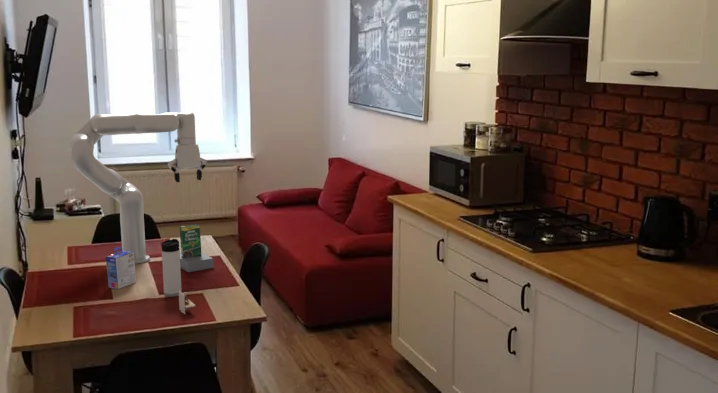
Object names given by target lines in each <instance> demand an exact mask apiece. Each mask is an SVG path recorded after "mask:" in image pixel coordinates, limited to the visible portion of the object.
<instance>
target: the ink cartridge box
mask: <svg viewBox="0 0 718 393" xmlns="http://www.w3.org/2000/svg"><path fill="white" fill-rule="evenodd" d="M112 251H113V252H114V253H112V254H113V255H111V254H110V255H107V256H105V262H106V270H107V272H106V273H107V283H108V288H111V289H116V290H118V289H122V288H124V287H126V286H129V285H131V284H132V285H133V284H134V283H136V282H137V277H136V266H135V265H136V264H135V262H134V252H131V251H122V247H121V246H117V247H114V248H112Z"/></svg>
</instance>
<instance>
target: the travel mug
mask: <svg viewBox="0 0 718 393" xmlns="http://www.w3.org/2000/svg"><path fill="white" fill-rule="evenodd" d="M180 250H181V248H180V240H178V239H177V238H171V239H167V240H164V241H163V242H161V261H162V262H161V263H162V280H163V295H164V296H165V297H171V298H172V297H179V291H180V292H181V293H183V292H182V274H181V268H180V253H181V251H180Z"/></svg>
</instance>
